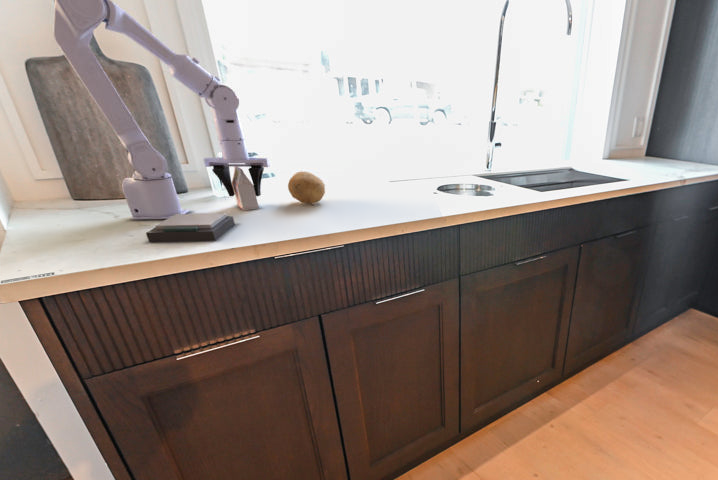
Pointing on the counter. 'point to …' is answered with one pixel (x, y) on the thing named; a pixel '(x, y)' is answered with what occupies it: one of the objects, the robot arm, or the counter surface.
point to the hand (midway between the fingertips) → (245, 195)
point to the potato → (306, 187)
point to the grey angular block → (244, 190)
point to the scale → (191, 228)
